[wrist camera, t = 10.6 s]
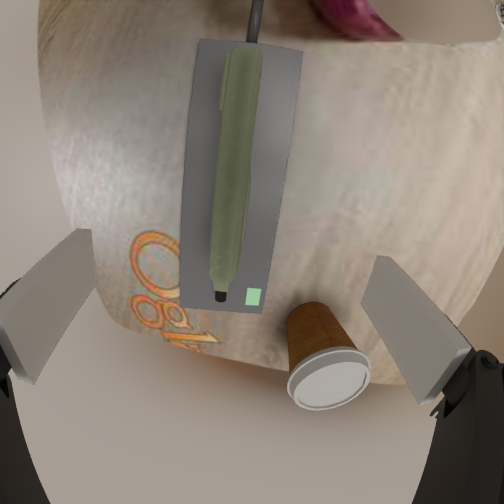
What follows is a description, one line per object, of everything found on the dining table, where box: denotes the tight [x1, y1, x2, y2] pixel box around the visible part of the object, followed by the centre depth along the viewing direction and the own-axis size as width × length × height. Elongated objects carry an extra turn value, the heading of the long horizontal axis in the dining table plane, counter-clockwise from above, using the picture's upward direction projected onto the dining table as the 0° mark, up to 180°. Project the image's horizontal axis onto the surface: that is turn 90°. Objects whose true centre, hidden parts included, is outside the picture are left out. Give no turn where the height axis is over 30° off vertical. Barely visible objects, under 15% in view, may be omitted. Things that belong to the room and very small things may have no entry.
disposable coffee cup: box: [287, 302, 370, 410], centre depth 32 cm, size 10×10×12 cm
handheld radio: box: [208, 46, 263, 303], centre depth 25 cm, size 7×3×25 cm
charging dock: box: [180, 0, 303, 314], centre depth 26 cm, size 38×10×2 cm, turn 173°
